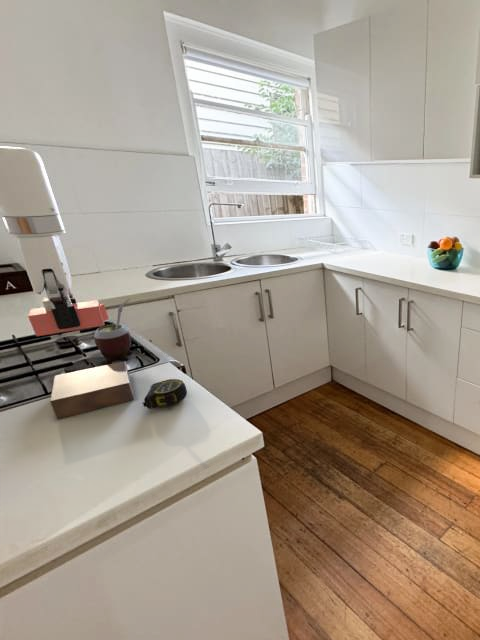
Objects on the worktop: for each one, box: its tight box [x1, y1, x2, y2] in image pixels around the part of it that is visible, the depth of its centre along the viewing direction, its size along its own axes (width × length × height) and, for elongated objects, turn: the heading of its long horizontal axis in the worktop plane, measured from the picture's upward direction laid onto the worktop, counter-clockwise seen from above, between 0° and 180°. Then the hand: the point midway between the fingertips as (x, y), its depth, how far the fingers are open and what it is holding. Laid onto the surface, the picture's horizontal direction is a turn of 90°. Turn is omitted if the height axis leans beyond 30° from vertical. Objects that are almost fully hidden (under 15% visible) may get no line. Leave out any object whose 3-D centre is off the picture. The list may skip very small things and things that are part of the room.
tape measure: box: [141, 378, 188, 410], centre depth 78 cm, size 7×7×4 cm
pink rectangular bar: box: [27, 296, 109, 337], centre depth 73 cm, size 11×5×6 cm, turn 128°
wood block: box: [49, 360, 135, 420], centre depth 79 cm, size 12×12×4 cm
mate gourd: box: [93, 297, 133, 364], centre depth 93 cm, size 8×8×15 cm
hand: (70, 322), depth 74 cm, fingers closed on pink rectangular bar, 4 cm apart
